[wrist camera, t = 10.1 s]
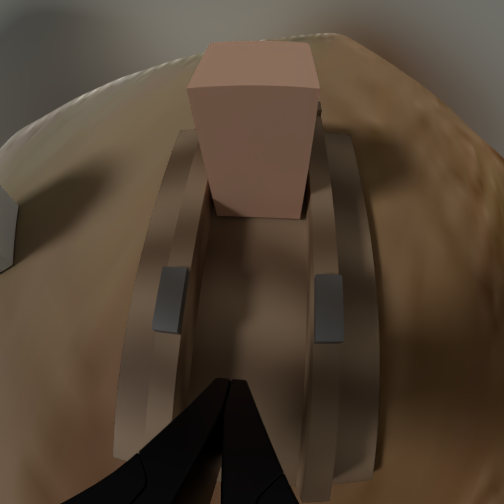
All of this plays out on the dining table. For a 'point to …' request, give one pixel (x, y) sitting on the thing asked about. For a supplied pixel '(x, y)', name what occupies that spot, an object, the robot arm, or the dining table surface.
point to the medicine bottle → (7, 229)
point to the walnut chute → (260, 317)
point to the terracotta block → (256, 125)
